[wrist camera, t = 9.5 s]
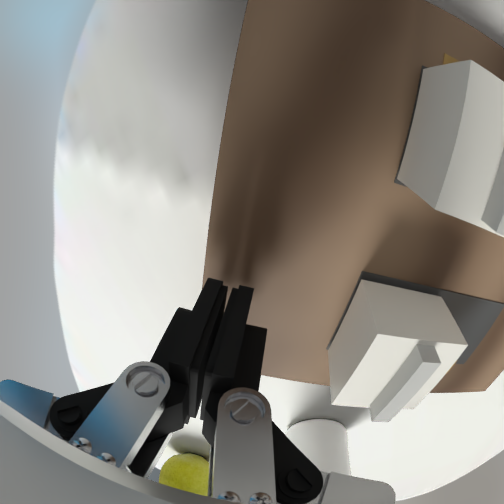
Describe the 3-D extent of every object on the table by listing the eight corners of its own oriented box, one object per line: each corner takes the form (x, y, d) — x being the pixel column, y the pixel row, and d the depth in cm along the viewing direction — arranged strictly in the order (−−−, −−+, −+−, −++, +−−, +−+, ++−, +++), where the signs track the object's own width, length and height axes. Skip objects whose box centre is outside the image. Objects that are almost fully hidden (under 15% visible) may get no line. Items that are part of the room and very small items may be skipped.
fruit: (231, 456, 26) (211, 548, 16) (218, 470, 29) (200, 546, 19) (170, 438, 26) (140, 529, 15) (166, 454, 29) (141, 530, 19)
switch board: (577, 143, 7) (603, 154, 5) (474, 367, 16) (484, 391, 14) (265, -18, 8) (258, -44, 6) (207, 328, 17) (196, 360, 14)
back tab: (441, 296, 10) (475, 360, 7) (401, 360, 12) (417, 423, 9) (361, 279, 10) (382, 353, 7) (327, 350, 12) (331, 421, 9)
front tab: (506, 116, 6) (575, 135, 3) (479, 211, 8) (537, 259, 5) (423, 69, 7) (488, 57, 3) (397, 178, 9) (448, 222, 5)
